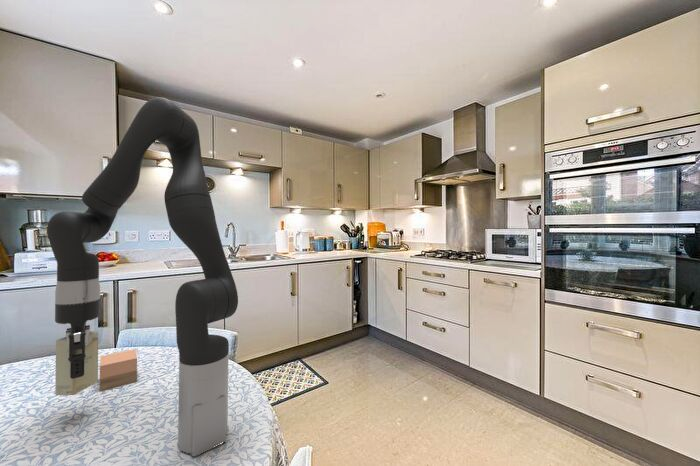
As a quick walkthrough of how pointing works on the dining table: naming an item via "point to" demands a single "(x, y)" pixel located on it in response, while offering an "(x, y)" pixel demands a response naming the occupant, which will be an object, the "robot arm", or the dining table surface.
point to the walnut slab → (118, 380)
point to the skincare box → (63, 380)
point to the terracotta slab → (118, 363)
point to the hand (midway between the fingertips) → (77, 370)
